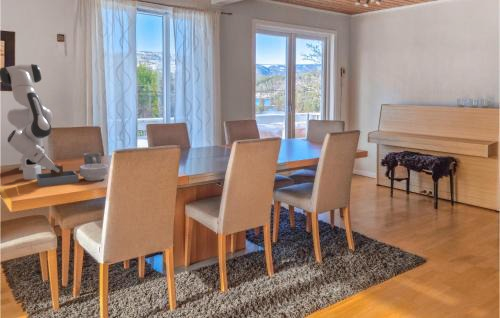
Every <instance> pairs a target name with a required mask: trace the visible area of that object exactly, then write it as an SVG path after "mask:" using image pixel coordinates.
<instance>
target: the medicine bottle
mask: <svg viewBox="0 0 500 318" xmlns="http://www.w3.org/2000/svg"><path fill="white" fill-rule="evenodd" d="M25 164H26V167H24V168H23V170H22V175H23V180H37V177H36V174H42V169H41V166H40V165H37V163H35V162H34V163H33V162H32V161H30V160H29V159H28V158H27V159H25Z"/></svg>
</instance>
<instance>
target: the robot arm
mask: <svg viewBox="0 0 500 318" xmlns="http://www.w3.org/2000/svg"><path fill="white" fill-rule="evenodd" d="M42 77H43V72H42V69H41V68H40V66H39V65H37V64H33V63H31V64H18V65H11V66H3V67H0V82H1V84H2V85H4V86H7V87H8V86H9V87H11V91H12V95H13V99H14V101H15V102H17V103H18V104H20V106H24V107H17V108H11V109H10V110H9V111H8V112H7V120H8V122H9V123H10V125H11V126H14V127H15V128H16V129H14V130H12V131H11V133H10V134H9V135H8V137H7V143H8V144H9V146H11V147H12V148H13V149H14V150H16V151H17V152H18V153H20V154H22V155H21V157H20V165H21V166H20V167H19V168H18V171H23V168H24V167H26V164H25V159H27V158H28V159H29V160H30V161H32V162H33V163H34V162H35V163H37V165H40V166H41V170H46V169H47V170H49V171H51V170H52V169H53V170H54V171H56V172H57V173H58V172H59V171H60V170H59V169H58V168H57V167H55V165H56V164H55V163H54V162H53V161H52V159H50V158H49V157H48V155H47V153H45V152H46V150H45V147H44V143H43V139H44V138H46V137H48V136H49V135H50V134H51V133H52V124H51V122H52V121H53V118H54V115H53V112H52V110H50V108H47V107H46V106H45V105H43V104H42V101H41V99H40V97H39V95H38V94H37V92H36V89H35V85H34V83H35V84H36V83H39V82H41V81H42Z"/></svg>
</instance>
